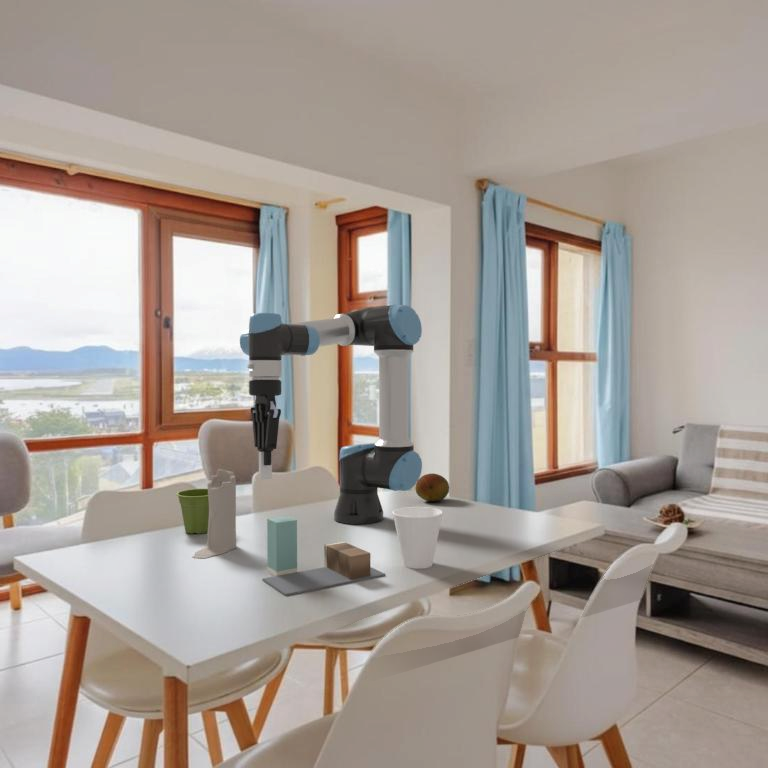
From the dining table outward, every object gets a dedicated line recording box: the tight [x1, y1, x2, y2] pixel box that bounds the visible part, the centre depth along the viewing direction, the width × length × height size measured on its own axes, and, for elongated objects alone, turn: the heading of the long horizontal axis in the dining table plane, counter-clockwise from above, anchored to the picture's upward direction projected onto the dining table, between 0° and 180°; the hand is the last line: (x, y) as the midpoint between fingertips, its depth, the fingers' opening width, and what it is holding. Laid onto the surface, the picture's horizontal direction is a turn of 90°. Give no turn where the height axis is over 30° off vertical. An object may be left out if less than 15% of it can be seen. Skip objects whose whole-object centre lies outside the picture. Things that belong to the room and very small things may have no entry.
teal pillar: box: [266, 515, 298, 577], centre depth 148 cm, size 5×5×12 cm
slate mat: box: [261, 566, 386, 597], centre depth 143 cm, size 12×24×1 cm, turn 123°
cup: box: [392, 506, 444, 570], centre depth 153 cm, size 12×12×12 cm
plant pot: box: [176, 488, 209, 535], centre depth 187 cm, size 12×12×11 cm
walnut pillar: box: [323, 541, 371, 580], centre depth 147 cm, size 5×5×12 cm
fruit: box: [414, 473, 450, 503], centre depth 229 cm, size 12×12×10 cm
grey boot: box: [192, 468, 237, 559], centre depth 166 cm, size 7×14×20 cm, turn 160°
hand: (265, 478), depth 155 cm, fingers closed
